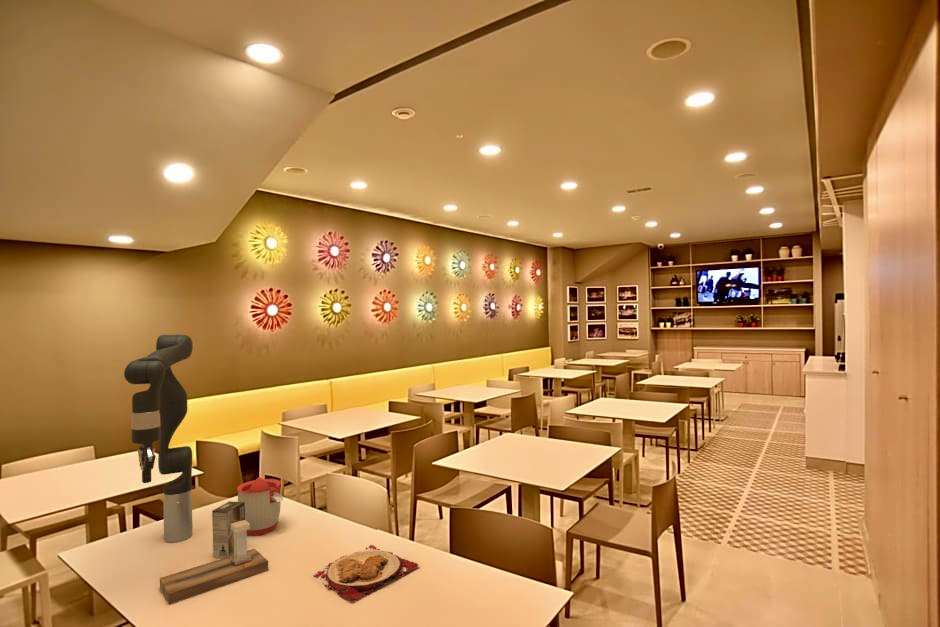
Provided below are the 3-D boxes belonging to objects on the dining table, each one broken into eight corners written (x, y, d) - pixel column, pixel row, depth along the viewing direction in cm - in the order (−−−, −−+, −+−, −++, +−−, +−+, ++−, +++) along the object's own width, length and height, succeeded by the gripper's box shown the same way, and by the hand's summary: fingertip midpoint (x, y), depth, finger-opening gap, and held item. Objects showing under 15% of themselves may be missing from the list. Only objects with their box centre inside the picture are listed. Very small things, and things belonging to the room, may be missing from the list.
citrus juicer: (267, 541, 184) (266, 486, 184) (227, 535, 189) (227, 482, 189) (293, 524, 199) (293, 473, 199) (256, 519, 204) (255, 469, 204)
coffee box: (230, 545, 181) (229, 500, 181) (246, 547, 180) (245, 501, 180) (212, 557, 172) (211, 510, 172) (228, 559, 171) (228, 511, 171)
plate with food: (419, 570, 163) (419, 559, 164) (351, 604, 143) (351, 591, 144) (371, 549, 180) (371, 539, 180) (304, 577, 159) (304, 565, 160)
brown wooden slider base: (159, 588, 153) (159, 577, 153) (254, 557, 172) (254, 547, 172) (169, 604, 144) (168, 592, 144) (268, 570, 163) (268, 559, 163)
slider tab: (229, 559, 163) (229, 523, 163) (246, 554, 167) (245, 519, 167) (235, 565, 160) (234, 528, 160) (251, 560, 163) (250, 523, 163)
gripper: (164, 427, 154) (165, 484, 154) (155, 420, 164) (156, 474, 164) (135, 431, 149) (136, 490, 149) (127, 424, 159) (128, 480, 159)
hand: (146, 482), depth 156 cm, fingers closed
